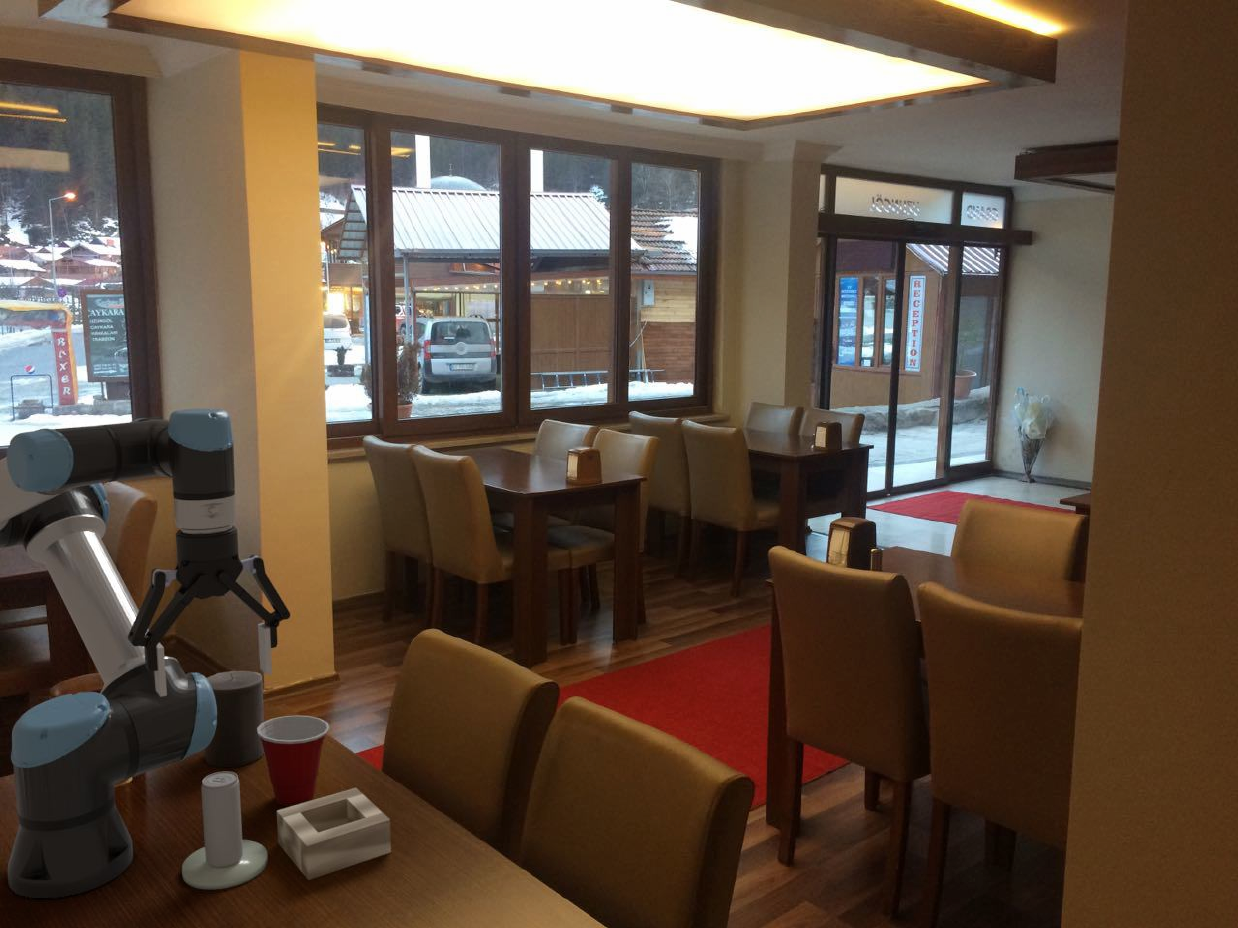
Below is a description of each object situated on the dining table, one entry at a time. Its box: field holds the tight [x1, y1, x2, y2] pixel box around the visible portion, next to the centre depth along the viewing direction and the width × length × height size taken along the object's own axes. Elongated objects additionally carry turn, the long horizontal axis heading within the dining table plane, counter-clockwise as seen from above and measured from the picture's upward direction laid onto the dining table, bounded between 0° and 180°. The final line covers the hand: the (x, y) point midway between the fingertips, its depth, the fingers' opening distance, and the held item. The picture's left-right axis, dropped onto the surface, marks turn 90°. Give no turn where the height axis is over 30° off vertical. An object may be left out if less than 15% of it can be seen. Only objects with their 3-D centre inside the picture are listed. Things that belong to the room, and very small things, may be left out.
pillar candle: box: [204, 670, 265, 768], centre depth 174 cm, size 10×10×15 cm
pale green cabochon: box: [181, 839, 268, 890], centre depth 141 cm, size 11×11×1 cm
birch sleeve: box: [276, 787, 392, 881], centre depth 146 cm, size 12×12×5 cm
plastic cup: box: [257, 714, 330, 807], centre depth 160 cm, size 11×11×12 cm
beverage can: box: [200, 770, 243, 868], centre depth 140 cm, size 5×5×12 cm
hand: (215, 682), depth 137 cm, fingers open, 13 cm apart
